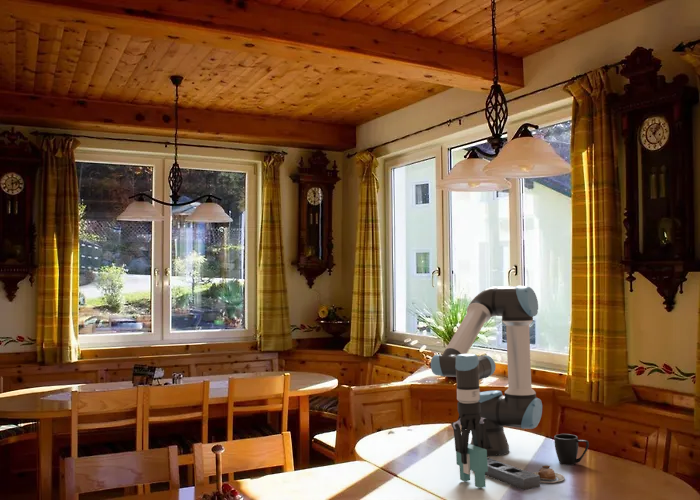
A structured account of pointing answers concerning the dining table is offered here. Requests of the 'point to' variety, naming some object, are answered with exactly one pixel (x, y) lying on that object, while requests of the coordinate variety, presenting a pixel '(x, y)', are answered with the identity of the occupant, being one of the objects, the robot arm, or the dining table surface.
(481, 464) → the clip
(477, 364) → the robot arm
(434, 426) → the dining table surface
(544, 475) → the pastry
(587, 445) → the mug
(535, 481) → the rail
